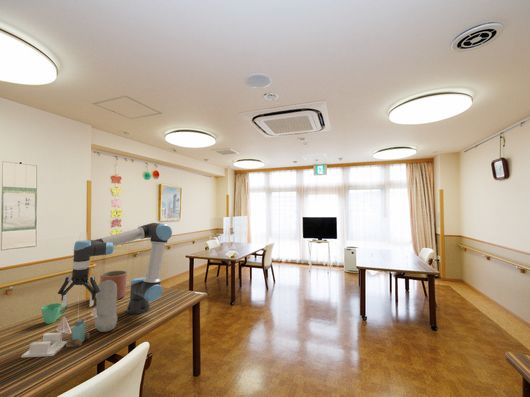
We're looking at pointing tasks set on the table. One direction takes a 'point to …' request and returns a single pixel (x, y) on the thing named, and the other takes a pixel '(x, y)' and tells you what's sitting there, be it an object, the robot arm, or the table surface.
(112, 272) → the planter
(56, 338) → the port
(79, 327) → the plug
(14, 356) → the table surface
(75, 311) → the table surface
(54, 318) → the mug
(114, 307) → the sculpture
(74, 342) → the holster
